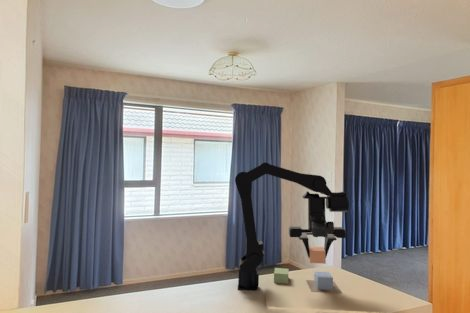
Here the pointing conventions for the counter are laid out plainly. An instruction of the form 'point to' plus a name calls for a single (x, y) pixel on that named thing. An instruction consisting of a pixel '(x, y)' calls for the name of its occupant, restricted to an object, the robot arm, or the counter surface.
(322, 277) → the base brick
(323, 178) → the robot arm
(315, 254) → the terracotta brick
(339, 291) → the walnut board
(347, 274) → the counter surface
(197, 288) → the counter surface
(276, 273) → the olive brick
